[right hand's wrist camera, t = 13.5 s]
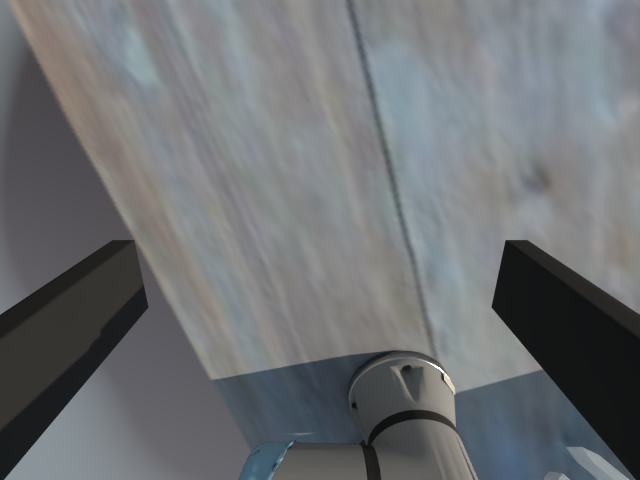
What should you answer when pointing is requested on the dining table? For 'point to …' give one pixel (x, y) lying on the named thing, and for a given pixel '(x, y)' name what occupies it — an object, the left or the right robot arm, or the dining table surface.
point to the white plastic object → (590, 466)
